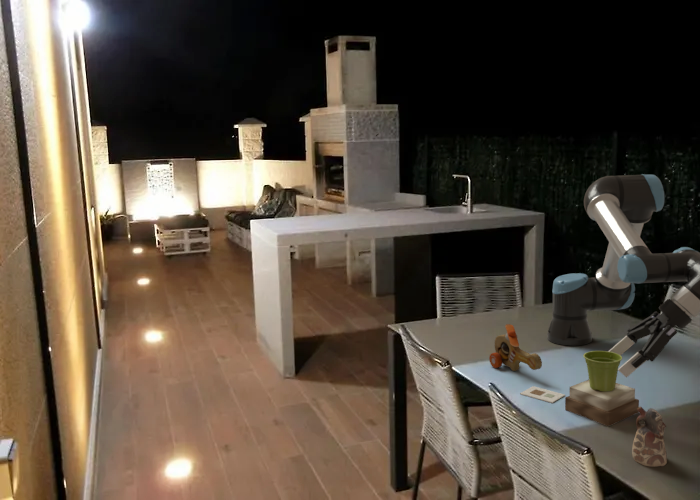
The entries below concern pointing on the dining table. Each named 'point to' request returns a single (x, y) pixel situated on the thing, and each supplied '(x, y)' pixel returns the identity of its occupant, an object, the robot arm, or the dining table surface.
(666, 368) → the dining table surface
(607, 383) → the plant pot
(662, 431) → the figurine
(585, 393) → the stacked square slabs
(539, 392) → the page
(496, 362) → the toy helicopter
